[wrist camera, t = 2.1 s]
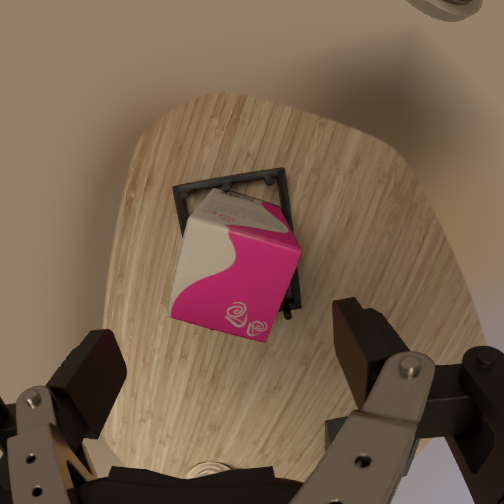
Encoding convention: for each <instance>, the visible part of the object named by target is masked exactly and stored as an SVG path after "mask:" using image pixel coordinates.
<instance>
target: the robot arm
mask: <svg viewBox="0 0 504 504" xmlns="http://www.w3.org/2000/svg"><path fill="white" fill-rule="evenodd" d="M443 1H445V2H448V3H451V4H455V5H465V4H468V3H469V2H471V1H473V0H443ZM332 311H333V334H334V346H335V351H336V355H337V358H338V360H339V363H340V365H341V368H342V370H343V372H344V375H345V377H346V380H347V382H348V385H349V387H350V390H351V392H352V395H353V397H354V400H355V402H356V405H357V407H358V410H353V411H352V412H351V414H350V415H349V416H348V418H347V420H346V421H345V423H344V425H343V426H342V428H341V430H340V431H339V433H338V434H337V436H336V438H335V439H334V441H333V442H332V444H331V445H330V447H329V448H328V450H327V451H326V453H325V454H324V456H323V457H322V459H321V460H320V462H319V463H318V465H317V466H316V468H315V469H314V470H313V472H312V473H311V475H310V476H309V477H308V479H307V480H306V482H305V483H303V482H299V481H295V480H290V479H285V478H275V475H274V471H273V466H270V467H261V468H250V469H237V470H227V471H223V472H219V473H214V474H210V475H205V476H201V477H196V478H191V479H180V478H176V477H172V476H168V475H164V474H161V473H157V472H154V471H150V470H147V469H136V468H125V467H116V466H112V467H111V470H110V473H109V476H108V477H104V478H98V476H97V474H96V471H95V469H94V466H93V464H92V461H91V459H90V456H89V454H88V451H87V449H86V447H85V445H84V444H83V442H82V441H83V439H84V438H89V439H98V438H99V435H100V433H101V431H102V429H103V427H104V424H105V422H106V420H107V418H108V416H109V413H110V411H111V409H112V407H113V405H114V403H115V400H116V398H117V396H118V394H119V392H120V390H121V388H122V386H123V384H124V381H125V379H126V376H127V368H126V364H125V361H124V359H123V356H122V354H121V351H120V349H119V346H118V344H117V341H116V339H115V336H114V334H113V332H112V331H111V330H110V329H102V330H92V331H90V332H89V333H88V335H87V336H86V337H85V338H84V340H83V341H82V342H81V344H80V345H79V346H77V347H76V348H75V349H73V350H72V351H71V352H70V354H69V355H68V356H67V358H66V360H65V361H63V363H62V364H61V367H59V368H58V369H57V371H56V372H55V373H54V375H53V376H52V377H51V379H50V380H49V382H48V383H47V384H46V386H35V387H32V388H29V389H27V390H25V391H24V392H23V393H22V394H21V395H20V396H19V397H18V399H17V401H16V403H14V404H7V405H5V403H4V402H3V400H2V399H1V397H0V450H1V451H2V452H3V455H2V457H1V459H0V504H390V503H391V501H392V499H393V496H394V494H395V492H396V489H397V487H398V485H399V483H400V480H401V478H402V476H403V473H404V471H405V469H406V466H407V464H408V461H409V459H410V456H411V454H412V451H413V448H414V445H415V443H416V440H417V439H421V438H434V437H445V439H446V441H447V443H448V445H449V447H450V450H451V452H452V454H453V456H454V458H455V460H456V462H457V464H458V466H459V469H460V471H461V473H462V475H463V477H464V480H465V482H466V484H467V486H468V489H469V491H470V494H471V496H472V498H473V501H474V503H475V504H504V354H503V353H502V352H501V351H499V350H498V349H496V348H493V347H489V346H477V347H473V348H471V349H469V350H468V351H466V352H465V354H464V356H463V359H462V363H461V364H452V365H435V364H434V362H433V361H432V359H431V358H429V357H428V356H427V355H425V354H422V353H419V352H413V351H410V350H409V349H408V347H407V346H406V345H405V343H404V342H403V341H402V339H401V338H400V337H399V335H398V334H397V333H396V331H395V330H393V327H392V326H391V325H390V323H388V321H387V320H386V318H385V317H384V316H383V314H382V313H380V312H378V311H376V310H374V309H372V308H368V309H363V308H362V307H361V305H360V304H359V303H358V301H357V300H356V298H355V297H351V298H345V299H340V300H334V301H333V303H332Z"/></svg>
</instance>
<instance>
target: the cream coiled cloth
mask: <svg viewBox="0 0 504 504" xmlns="http://www.w3.org/2000/svg"><path fill="white" fill-rule="evenodd" d="M227 470H231V469H230V468H229V467H227V466H225V465H223V464H220V463H215V462H206V463H201V464H198V465H196V466H195V467H193V468H192V469H191V470H190V471H189V472H188V473H187V475H186V479H191V478H196V477H201V476H205V475H210V474H214V473H219V472H223V471H227Z"/></svg>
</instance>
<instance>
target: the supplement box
mask: <svg viewBox="0 0 504 504" xmlns="http://www.w3.org/2000/svg"><path fill="white" fill-rule="evenodd" d="M301 255H302V250H301V248H300V246H299V244H298V242H297V241H296V239H295V237H294V235H293V233H292V231H291V229H290V227H289V225H288V223H287V221H286V219H285V217H284V215H283V213H282V211H281V209H280V207H279V206H276V205H274V204H271V203H268V202H265V201H262V200H259V199H256V198H253V197H250V196H246V195H243V194H240V193H236V192H233V191H229V192H223V191H222V188H218V187H214V188H213V189H212V190H211V191H210V192H209V193H208V195H207V196H206V197H205V198H204V200H203V201H202V202H201V203H200V204H199V206H198V207H197V208H196V209H195V210H194V212H193V213H192V214H191V215H190V216H189V218H188V220H187V224H186V228H185V232H184V236H183V240H182V244H181V249H180V253H179V257H178V262H177V266H176V271H175V276H174V280H173V285H172V290H171V295H170V300H169V305H168V310H167V316H168V317H171V318H174V319H177V320H181V321H184V322H188V323H191V324H195V325H198V326H202V327H205V328H209V329H213V330H216V331H220V332H224V333H228V334H231V335H235V336H239V337H243V338H247V339H251V340H255V341H259V342H264V343H265V342H266V340H267V338H268V336H269V333H270V331H271V328H272V326H273V323H274V320H275V318H276V316H277V313H278V311H279V309H280V306H281V304H282V302H283V299H284V297H285V294H286V292H287V290H288V287H289V285H290V282H291V280H292V277H293V275H294V272H295V270H296V267H297V265H298V262H299V260H300V257H301Z"/></svg>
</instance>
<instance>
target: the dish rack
mask: <svg viewBox="0 0 504 504" xmlns="http://www.w3.org/2000/svg"><path fill="white" fill-rule="evenodd" d="M272 177H277V183H278V189H279V196H280V203H281V211H282V213H283V215H284V217H285V219H286V221H287V223H288V225H289V227H290V229H291V231H292V233H293V228H292V220H291V213H290V205H289V198H288V191H287V183H286V177H285V170H284V168H275V169H268V170H261V171H255V172H248V173H242V174H236V175H230V176H224V177H218V178H212V179H207V180H201V181H196V182H191V183H185V184H180V185H176V186H173V187H172V188H173V194H174V199H175V204H176V209H177V214H178V219H179V224H180V228H181V233H182V238H183V236H184V232H185V228H186V224H187V220H188V218H189V216H188V211H187V206H186V201H185V199H187V198H188V197H190V196H191V195H192V194H194V193H195V192H196V191H197V190H199V189H204V188H210V187H215V186H221V185H222V191H223V192H229V191H230V189H231V187H232V185H233V183H239V182H245V181H252V180H258V179H264V181H265V183H266V184H267V185H272V184H273V183H274V179H273V178H272ZM291 288H292V296H293V298H290V299H288V298H287V294H285V297H284V299H283V302H282V304H281V306H280V309H279V311H278V312H282V311H283V313H284V317H285V319H286V320H290V319H291V318H292V314H291V310H295V309H301V308H302V306H301V297H300V287H299V278H298V269H297V267H296V270H295V272H294V275H293V277H292V280H291ZM288 291H289V288H288V290H287V292H286V293H288ZM210 330H213V329H210Z"/></svg>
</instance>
